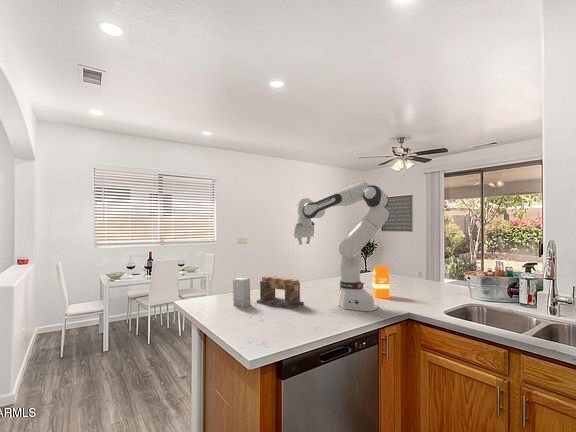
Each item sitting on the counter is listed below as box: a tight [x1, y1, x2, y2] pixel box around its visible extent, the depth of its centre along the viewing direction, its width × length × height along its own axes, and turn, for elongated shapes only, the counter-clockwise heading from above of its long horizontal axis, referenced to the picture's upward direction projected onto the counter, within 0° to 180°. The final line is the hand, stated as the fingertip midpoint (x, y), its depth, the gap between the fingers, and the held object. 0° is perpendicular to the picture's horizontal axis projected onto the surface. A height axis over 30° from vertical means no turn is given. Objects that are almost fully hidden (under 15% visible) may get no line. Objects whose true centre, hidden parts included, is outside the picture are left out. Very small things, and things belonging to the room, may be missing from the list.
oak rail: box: [261, 275, 300, 291], centre depth 190 cm, size 24×4×6 cm, turn 56°
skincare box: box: [232, 277, 252, 308], centre depth 186 cm, size 8×7×16 cm
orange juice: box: [372, 265, 390, 299], centre depth 207 cm, size 8×9×20 cm
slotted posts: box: [256, 280, 305, 310], centre depth 189 cm, size 26×12×13 cm, turn 57°
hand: (304, 244), depth 208 cm, fingers open, 8 cm apart
